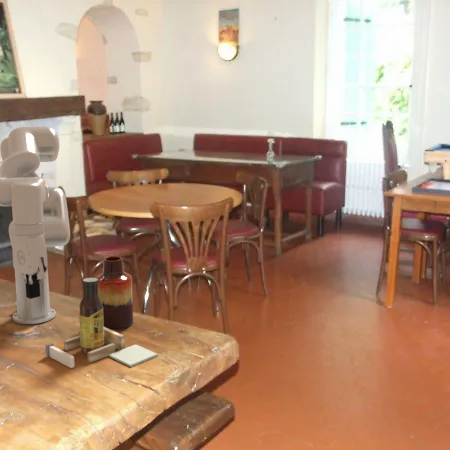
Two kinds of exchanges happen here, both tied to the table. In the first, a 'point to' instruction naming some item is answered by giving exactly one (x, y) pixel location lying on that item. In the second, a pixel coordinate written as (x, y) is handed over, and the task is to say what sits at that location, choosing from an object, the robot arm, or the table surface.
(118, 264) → the vase
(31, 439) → the table surface
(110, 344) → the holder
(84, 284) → the sauce bottle
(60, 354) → the bar
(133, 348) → the tile
